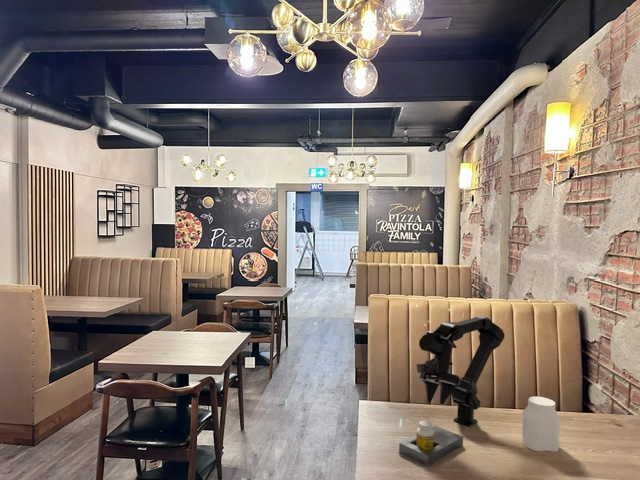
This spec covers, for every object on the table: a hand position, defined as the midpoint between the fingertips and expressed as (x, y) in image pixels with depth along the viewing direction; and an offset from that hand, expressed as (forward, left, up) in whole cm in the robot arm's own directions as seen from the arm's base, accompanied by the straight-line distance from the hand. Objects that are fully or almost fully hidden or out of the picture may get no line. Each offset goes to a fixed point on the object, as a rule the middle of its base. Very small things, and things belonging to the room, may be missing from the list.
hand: (435, 403), depth 159 cm
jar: (-23, +26, -12) cm, 37 cm away
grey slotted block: (+9, +4, -12) cm, 15 cm away
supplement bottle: (+12, +4, -12) cm, 17 cm away
